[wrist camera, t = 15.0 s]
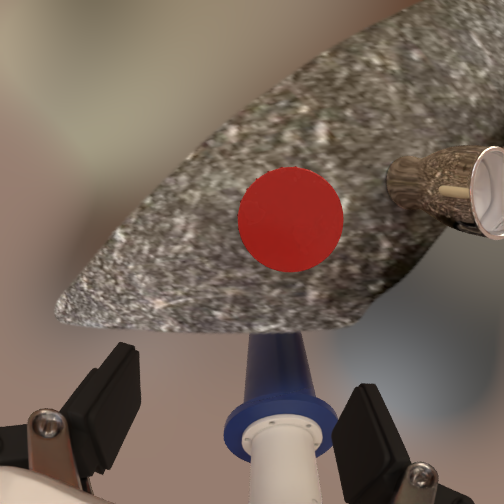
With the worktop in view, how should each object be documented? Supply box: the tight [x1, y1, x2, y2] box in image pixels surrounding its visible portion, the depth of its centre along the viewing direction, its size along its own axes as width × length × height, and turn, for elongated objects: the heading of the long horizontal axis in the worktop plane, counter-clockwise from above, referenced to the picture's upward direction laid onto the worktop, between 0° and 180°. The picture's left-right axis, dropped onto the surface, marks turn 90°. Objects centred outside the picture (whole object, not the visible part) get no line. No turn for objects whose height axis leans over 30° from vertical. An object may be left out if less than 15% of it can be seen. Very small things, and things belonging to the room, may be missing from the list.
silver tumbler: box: [386, 145, 504, 240], centre depth 21 cm, size 7×7×15 cm
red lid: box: [237, 166, 343, 272], centre depth 19 cm, size 7×7×2 cm
